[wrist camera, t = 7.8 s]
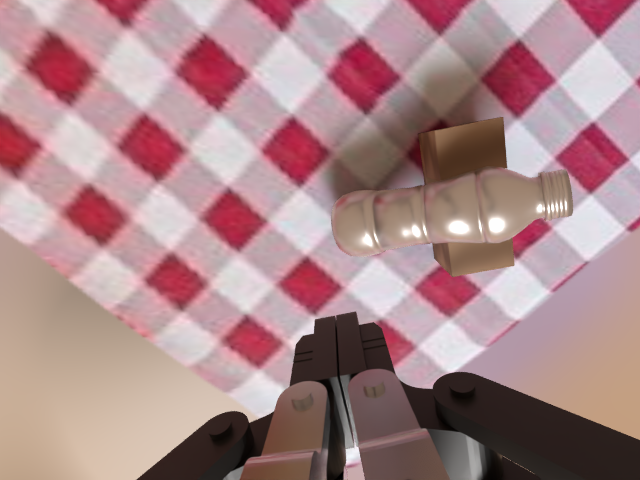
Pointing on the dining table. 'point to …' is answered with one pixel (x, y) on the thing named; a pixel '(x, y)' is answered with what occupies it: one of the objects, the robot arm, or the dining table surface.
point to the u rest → (458, 158)
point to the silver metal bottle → (449, 210)
